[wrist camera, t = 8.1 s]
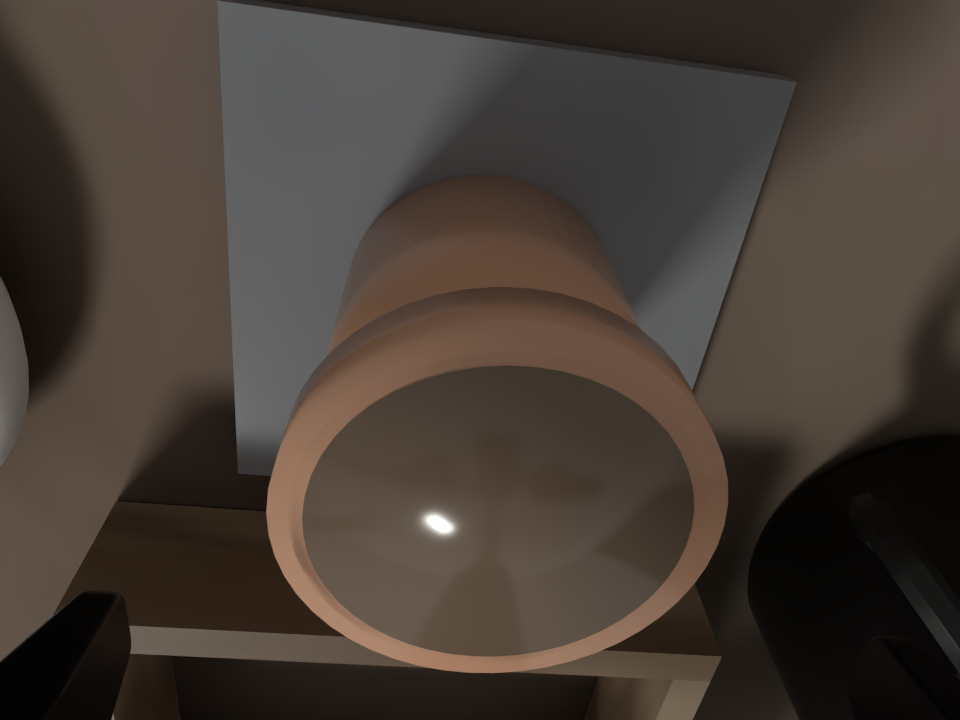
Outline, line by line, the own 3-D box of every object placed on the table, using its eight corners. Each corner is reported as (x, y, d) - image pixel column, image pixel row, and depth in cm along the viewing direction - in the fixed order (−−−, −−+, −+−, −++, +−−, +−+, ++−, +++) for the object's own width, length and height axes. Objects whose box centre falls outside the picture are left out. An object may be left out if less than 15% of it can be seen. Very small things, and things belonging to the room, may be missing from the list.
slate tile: (646, 484, 21) (653, 504, 20) (245, 454, 20) (238, 473, 19) (780, 74, 15) (797, 82, 14) (228, -4, 14) (217, 0, 13)
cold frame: (598, 753, 27) (620, 873, 24) (153, 737, 26) (108, 863, 22) (678, 540, 22) (722, 656, 18) (116, 501, 20) (49, 621, 17)
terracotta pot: (590, 434, 19) (659, 685, 13) (327, 411, 18) (267, 664, 12) (660, 181, 15) (798, 360, 9) (338, 140, 15) (262, 304, 9)
